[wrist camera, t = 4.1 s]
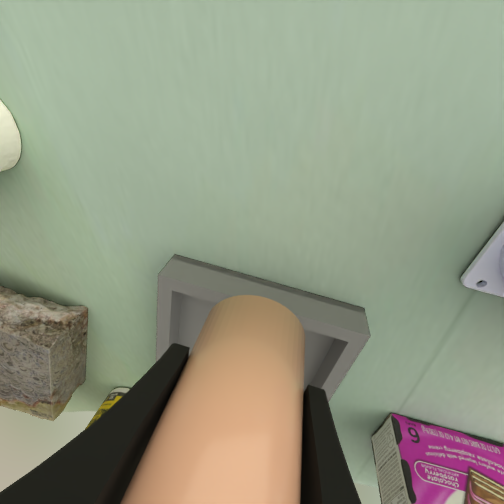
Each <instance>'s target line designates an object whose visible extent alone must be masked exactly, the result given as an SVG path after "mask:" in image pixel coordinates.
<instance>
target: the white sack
mask: <svg viewBox="0 0 504 504" xmlns="http://www.w3.org/2000/svg"><path fill="white" fill-rule="evenodd" d="M20 154H21V138H20V133H19V130H18V128H17V126H16V123H15V121H14V119H13V116H12V114H11V113H10V111H9V110H8V109H7V107H6V106H5V105H4V104H3V102H2V101H1V100H0V172H1V171H5V170H8V169H11V168H12V167H14V166H15V165H16V163H17V162H18V160H19V158H20Z"/></svg>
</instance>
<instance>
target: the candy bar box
mask: <svg viewBox="0 0 504 504" xmlns="http://www.w3.org/2000/svg"><path fill="white" fill-rule="evenodd" d="M371 441H372V448H373V454H374V460H375V466H376V473H377V479H378V486H379V492H380V498H381V504H504V444H500V443H497V442H493V441H490V440H486V439H482V438H479V437H475V436H472V435H468V434H464V433H461V432H457V431H454V430H450V429H446V428H443V427H439V426H435V425H432V424H429V423H425V422H421V421H418V420H414V419H411V418H407V417H404V416H400V415H397V414H393V413H391V414H390V415H389V416H388V417H387V418H386V419H385V421H384V422H383V424H382V425H381V426H380V428H379V429H378V430H377V431H376V432H375V433H374V435H373V436H372V438H371Z"/></svg>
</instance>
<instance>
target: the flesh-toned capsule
mask: <svg viewBox="0 0 504 504" xmlns="http://www.w3.org/2000/svg"><path fill="white" fill-rule="evenodd" d="M304 366H305V332H304V329H303V326H302V324H301V323H300V321H299V319H298V318H297V317H296V316H295V315H294V314H293V313H292V312H291V311H290V310H289V309H288V308H286V307H285V306H283V305H282V304H280V303H278V302H276V301H274V300H271V299H268V298H265V297H261V296H255V295H238V296H233V297H229V298H226V299H224V300H222V301H220V302H219V303H217V304H216V305H215V306H214V307H213V308H212V309H211V311H210V312H209V314H208V316H207V319H206V321H205V323H204V325H203V327H202V329H201V331H200V333H199V336H198V338H197V340H196V342H195V344H194V346H193V348H192V351H191V353H190V355H189V357H188V359H187V361H186V363H185V366H184V368H183V370H182V372H181V374H180V376H179V378H178V381H177V383H176V385H175V387H174V389H173V391H172V393H171V396H170V398H169V400H168V402H167V404H166V406H165V408H164V411H163V413H162V415H161V417H160V419H159V421H158V423H157V426H156V428H155V430H154V432H153V434H152V436H151V438H150V441H149V443H148V445H147V447H146V449H145V451H144V453H143V455H142V458H141V460H140V462H139V464H138V466H137V468H136V470H135V473H134V475H133V477H132V479H131V481H130V483H129V485H128V488H127V490H126V492H125V494H124V496H123V498H122V500H121V503H120V504H300V498H301V465H302V432H303V399H304Z"/></svg>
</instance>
